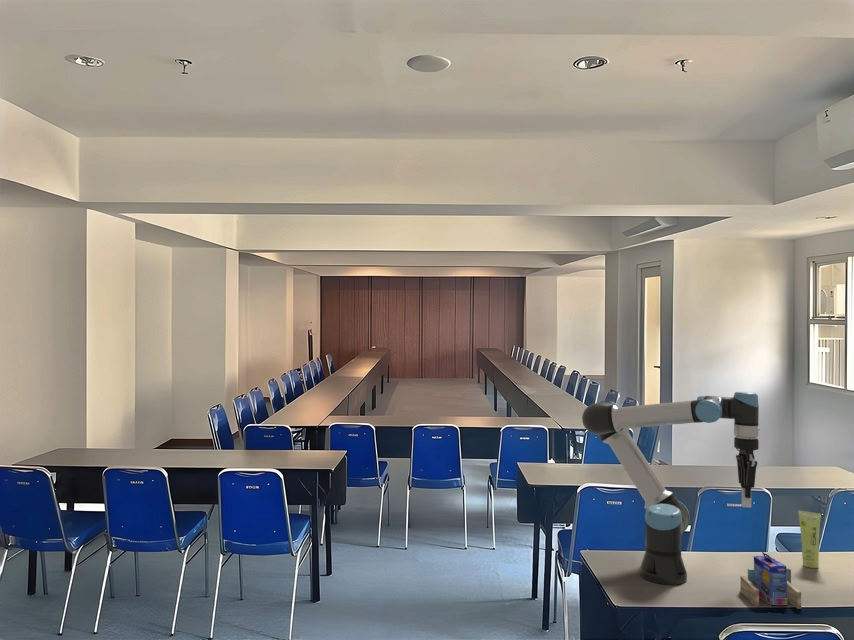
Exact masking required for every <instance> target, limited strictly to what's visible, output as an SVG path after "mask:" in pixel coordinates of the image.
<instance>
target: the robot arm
mask: <svg viewBox="0 0 854 640" xmlns="http://www.w3.org/2000/svg"><path fill="white" fill-rule="evenodd" d="M759 406H760V405H759V396H758V394H757V393H756V392H752V391H751V392H750V391H735V392H734V393H733V396H731V397H728V396H716V395H715V396H714V395H713V396H712V395H699V396H698V397H697V399H694V400H684V401H675V402H673V401H672V402H663V403H652V404H651V403H650V404H642V405H630V406H621V407H620V405H619V404H617V403H615V402H614V401H611V400H610V401H609V400H601V401H599V402H596V403H592V404H589V405H588V406H587V407H586V408H584V410H583V411H582V412H583V413H582V416H581V417H582V418H581V421H582V425H583V426H584V429H586V431H587V432H589V433H591V434H592V435H597V436H598V437H599V439H600V441H601V442H602V443H604V444H607V445H609V447H610V448H611V450H612V452H613V454H614V455H615V457H616V458H617V459H618V461H619V463H620V464H621V466H622V467H623V469H624V471H625V472H626V473H627V475H628V477H629V478H630V479H631V482H632V483H633V484H634V486H635V488H636V489H637V491H638V493H639V494H640V495H641V497H642V499H643V500H644V502H645V503H644V510H645V515H644V522H645V523H644V524H645V525H644V526H645V528H644V529H645V530H644V533H645V535H644V537H645V538H644V539H645V540H644V542H645V543H644V545H645V547H644V550H645V551H644V554H643V558H642V560H641V563H640V566H639V575H640V576H641V578H643V579H644V580H647V581H650V582H652V583H656V584H660V585H671V586H672V585H673V586H674V585H681V584H684V583H686V582H687V581H688V574H687V570H686V566H685V564H684V559H683V557H682V535H683V534H684V532H686V530H687V529H688V527H689V525H690V521H691V518H690V516H691V515H690V512H689V509H688V508H687V506H686V505H685V504H684V503H682V501H680V500H678V498H677V497H676V495H675V494H674V493H673V492H672V491H669V490H667V489H666V487H664V484H663V483H662V482H661V480H660V479H659V477H658V475H657V474H656V472H655V471H654V469H653V468H652V466H651V465H650V463H649V461H648V460H647V459H646V457H645V456H644V454H643V453H642V451H641V449H640V448H639V446H638V445H637V443H636V442H635V440H634V438H633V437H632V436H631V434H630V432H629V430H630V429H632V428H633V429H635V428H646V427H658V426H670V425H672V426H673V425H683V424H694V423H697V424H698V423H707V424H711V423H715V422H717V421H718V420H720V419H727V420H733V421H734V422H733V423H734V424H733V435H734V436H735V437H734V438H733V440H734V441H733V445H734V448H735V449H737V450H738V454H735V458H736V462H737V464H736V465H737V475H738V484H740V486H741V507H743V508H752V489H753V488H755V485H756V484H755V483H756V471H757V466H758V461H757V460H755V453H754V451H758V450H759V445H760V444H759V443H760V442H759V438H758V437H759V431H760V427H759V419H760V418H759V414H760V413H759V410H760V409H759V408H760V407H759Z"/></svg>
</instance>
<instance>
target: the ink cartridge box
mask: <svg viewBox="0 0 854 640" xmlns="http://www.w3.org/2000/svg"><path fill="white" fill-rule="evenodd" d="M761 553H762V555H754V556H753V569H754V586H755V587H756V588H758V589H759V599H761V600H762V601H764V602H765V603H767V604H768V603H769V604H770V605H769V604H768V605H769V606H771V605H789V604H788V603H789V601H788V597H787V565H786V564H784V563H782V562H780V561H778V560H776V559H775V558H774V557H771V556H770V555H769V554H767V553H765V552H764V551H761Z"/></svg>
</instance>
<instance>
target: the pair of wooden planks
mask: <svg viewBox="0 0 854 640" xmlns="http://www.w3.org/2000/svg"><path fill="white" fill-rule="evenodd" d="M739 581H740V588H739V589H740V590H739V591H740V593H741V594H742V595H743V596H744V597H745V598H746V599H747V600H748V601H749V602H750V603H751V604H752V605H753V604H754V605H755V606H754V605H753V606H754V607H758V606H759V607H760V597H759V589H758V588H756V587H755V586H754V585H753V584H752V583H751V582H750V581H749V580H748V577H746V576H745V575H740V580H739ZM787 597H788V602H789V601H790V602H791V603H792V604H791V603H790V602H789V603H790V604H791V605H792V606H794V605H795V606H794V607H795V608H796V609H797V610H798V609H799V610H801V609H802V591H801V590H799V589H798V588H797V587H795V585H793V583H792V582H791V583H790V582H788V581H787Z"/></svg>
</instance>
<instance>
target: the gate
mask: <svg viewBox="0 0 854 640" xmlns="http://www.w3.org/2000/svg"><path fill="white" fill-rule="evenodd" d="M747 579H748V580H749V581H750V582H751V583H752V584H753V585H754V568H747ZM787 581H788V582H790V583H791V584H792V569H791V568H787Z"/></svg>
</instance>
